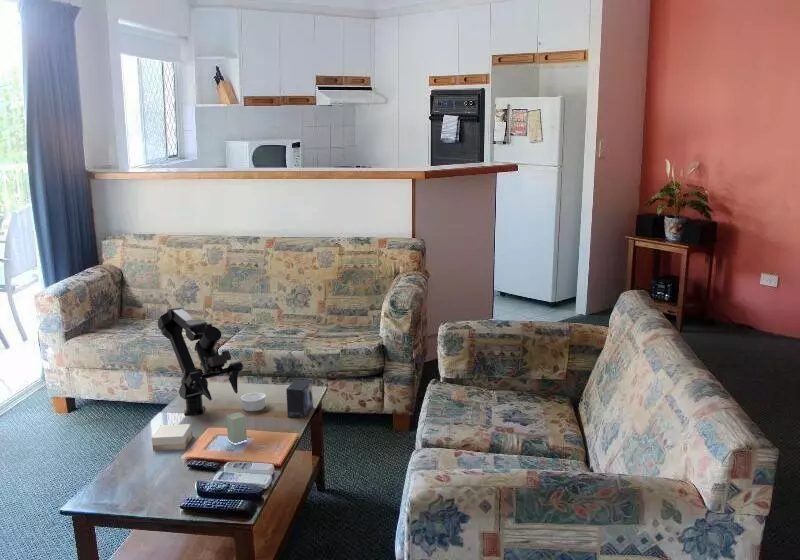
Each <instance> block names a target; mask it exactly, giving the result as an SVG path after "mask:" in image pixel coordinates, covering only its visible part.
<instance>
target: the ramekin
mask: <svg viewBox="0 0 800 560" xmlns="http://www.w3.org/2000/svg"><path fill="white" fill-rule="evenodd" d="M266 397H267V396H266V394H265V393H263V392H250V393H249V392H248V393H245V394H243V395H242V396H240V400H241V404H242V405H241V406H242V409H243V410H244V411H247V412H257V411H261V410H263V409H264V408H265V407H266Z"/></svg>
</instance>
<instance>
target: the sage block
mask: <svg viewBox="0 0 800 560" xmlns="http://www.w3.org/2000/svg"><path fill="white" fill-rule="evenodd" d="M225 417H226V429H227V430H226V431H227V440H228V439H229V440H230V441H231V442H233V443H238V442H241V441H244V440H247V441H248V434H247V424H246V423H247V422H246V415H244V414H243V413H242V412H240V411H237V412H235V413H229V414H227V415H225Z"/></svg>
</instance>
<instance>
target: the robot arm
mask: <svg viewBox="0 0 800 560" xmlns="http://www.w3.org/2000/svg"><path fill="white" fill-rule="evenodd" d="M157 326H158V329H159V330H160V332H161V334H162V335H163V337H165V338H166V339H168V340H169V342H170V344H171V346H172V349H173V352H174V355H175V357H176V359H177V362H178V365H179V368H180V370H181V373H182V376H181V381H180V384H181V385H180V387H179V389H178V394H179V397H180V398H182V399H183V400H184V401H185V407H186V409H185V411H184V415H185V416H189V415H190V416H191V415H202V414H204V411H205V410H206V406H205V405H203V396H204V397H205V398H206V399H208V400H209V401H212V395H211V393H210V390H209V388H208V387H209V383H208V381H209V380H208V379H211V378H214V377H215V378H216V377H219V376H222V375H227V376H228V382H229V383H230V385H231V387H232V389H233V392H234V394H238V389H239V388H238V376H239V375H240V374H241V373H242V371H243V369H244V368H245V366H244V364H243V362H242V361H241V360H238V361H233V362H231V363H229V365H228V366H227V367H225V364H228V361H231V360H232V355H231V352H230V351H229V350H225V351H224V350H223V351H222V352H221V354H219V352H217V351H216V350H215V348H216V346H217V344H218V343H219V341H220V339H221V338H222V332H221V330H220V329H219V328H218V327H216V326H213V324H212V323H208V322H207V321H205V320H202V319H196V318H194V317H193V316H192V315H190V314H189V313H188V312H187V311H186V310H185V308H184V307H183V306H178V307H171V308H170V309H168V310H167V312H165V313H163V314H162V315H160V316H159V318H158V320H157ZM183 329H184V330H185V336H186V338H187V339H188V340H189V341H190V342H193V341H196V342H195V345H194V351H195V352H196V354H197V355H198V359H199V360H200V363H199V365H200V367H202V368H203V370H202V368H197V367H196V366H195V363H194V361H193V359H192V356H191V354H190V353H191V352H190V351H189V348H188V345H187V343H186V340H185V338H184V336H183ZM204 409H205V410H204Z"/></svg>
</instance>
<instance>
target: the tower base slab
mask: <svg viewBox="0 0 800 560" xmlns="http://www.w3.org/2000/svg"><path fill="white" fill-rule="evenodd" d="M192 438H193V431H192V430H191V432H190V434H189V436H188V438H187V439H186V441H185V443H184V444H166V445H152V444H151V445H152V451H167V450H168V451H169V450H170V451H171V450H185V449H186V447H187V445H189V442H190V441H191V439H192Z"/></svg>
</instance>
